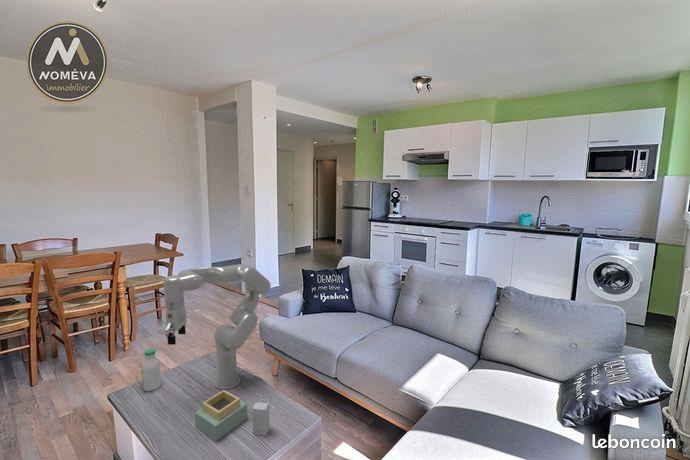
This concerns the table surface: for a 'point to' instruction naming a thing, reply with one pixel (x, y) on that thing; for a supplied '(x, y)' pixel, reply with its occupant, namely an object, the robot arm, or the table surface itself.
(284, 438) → the table surface
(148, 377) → the milk bottle
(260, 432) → the skincare box
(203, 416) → the green yellow rimmed box
